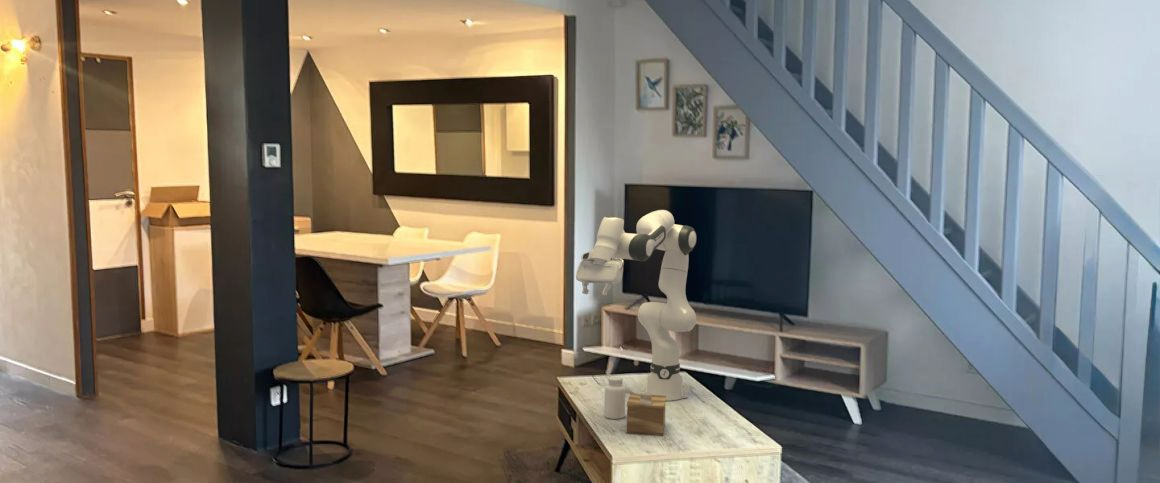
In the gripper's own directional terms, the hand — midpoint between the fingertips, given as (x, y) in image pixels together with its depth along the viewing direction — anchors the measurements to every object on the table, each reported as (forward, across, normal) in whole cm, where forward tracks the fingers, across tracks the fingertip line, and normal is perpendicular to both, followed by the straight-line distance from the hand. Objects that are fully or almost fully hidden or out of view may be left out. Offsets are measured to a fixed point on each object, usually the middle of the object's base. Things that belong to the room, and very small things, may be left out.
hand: (594, 294), depth 326 cm
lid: (+31, -8, -32) cm, 45 cm away
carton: (+40, -7, -36) cm, 54 cm away
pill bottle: (+38, +11, -37) cm, 54 cm away
